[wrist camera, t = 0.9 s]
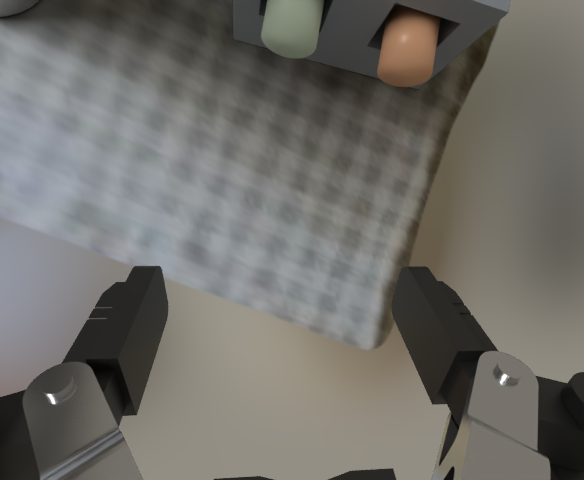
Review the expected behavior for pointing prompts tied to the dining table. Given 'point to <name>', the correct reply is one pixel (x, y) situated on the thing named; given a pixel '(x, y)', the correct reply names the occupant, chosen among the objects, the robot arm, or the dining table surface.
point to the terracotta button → (408, 47)
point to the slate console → (377, 29)
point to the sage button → (292, 27)
